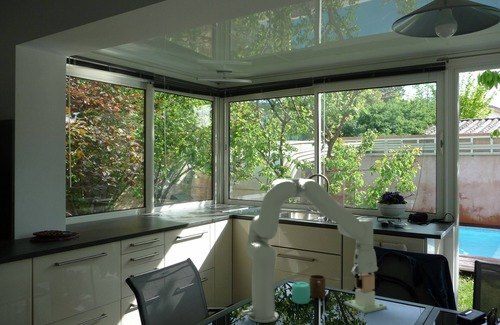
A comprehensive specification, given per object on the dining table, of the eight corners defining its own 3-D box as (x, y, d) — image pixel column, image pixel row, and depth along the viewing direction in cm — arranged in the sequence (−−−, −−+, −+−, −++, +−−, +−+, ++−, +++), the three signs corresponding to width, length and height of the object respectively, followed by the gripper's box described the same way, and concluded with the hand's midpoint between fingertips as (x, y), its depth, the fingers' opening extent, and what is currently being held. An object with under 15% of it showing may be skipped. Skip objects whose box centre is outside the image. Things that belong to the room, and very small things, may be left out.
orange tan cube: (364, 291, 177) (364, 277, 177) (355, 287, 182) (355, 274, 182) (374, 289, 180) (374, 275, 180) (365, 285, 185) (365, 272, 185)
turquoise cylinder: (309, 304, 184) (309, 287, 184) (292, 303, 185) (292, 286, 185) (309, 298, 192) (309, 281, 192) (292, 298, 193) (292, 281, 193)
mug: (328, 302, 187) (328, 282, 187) (311, 302, 187) (311, 281, 187) (324, 293, 199) (324, 274, 198) (308, 293, 199) (308, 274, 199)
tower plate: (364, 313, 172) (364, 297, 172) (344, 303, 184) (344, 288, 184) (386, 308, 178) (386, 292, 178) (365, 299, 190) (365, 284, 190)
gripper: (355, 250, 174) (355, 291, 174) (384, 246, 182) (385, 286, 182) (344, 247, 181) (344, 287, 181) (372, 243, 188) (373, 281, 188)
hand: (364, 286), depth 181 cm, fingers closed on orange tan cube, 5 cm apart
